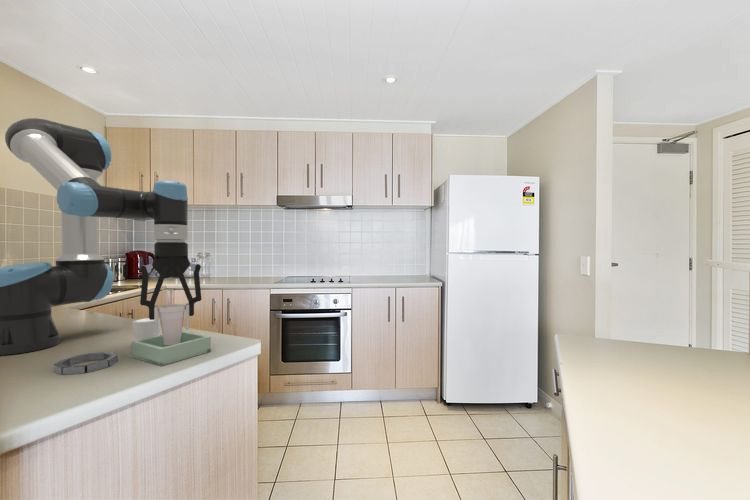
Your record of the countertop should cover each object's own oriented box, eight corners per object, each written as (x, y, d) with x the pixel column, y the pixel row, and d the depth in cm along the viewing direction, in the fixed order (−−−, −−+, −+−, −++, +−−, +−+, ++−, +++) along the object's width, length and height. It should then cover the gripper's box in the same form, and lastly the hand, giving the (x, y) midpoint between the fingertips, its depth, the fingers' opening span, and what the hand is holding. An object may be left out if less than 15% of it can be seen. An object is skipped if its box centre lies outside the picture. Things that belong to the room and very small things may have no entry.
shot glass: (150, 347, 97) (150, 322, 97) (126, 347, 98) (126, 322, 97) (166, 340, 104) (165, 317, 104) (143, 340, 104) (143, 317, 104)
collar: (47, 368, 81) (47, 362, 81) (102, 355, 90) (102, 349, 90) (67, 377, 75) (67, 370, 75) (124, 362, 85) (124, 356, 85)
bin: (131, 357, 89) (131, 341, 89) (181, 344, 100) (181, 330, 100) (160, 366, 82) (160, 349, 82) (210, 351, 94) (210, 336, 94)
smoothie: (179, 338, 96) (178, 287, 95) (190, 342, 92) (190, 289, 92) (153, 344, 90) (153, 289, 90) (164, 348, 87) (164, 291, 86)
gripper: (124, 241, 83) (125, 338, 83) (213, 241, 92) (214, 328, 93) (127, 241, 89) (128, 331, 89) (210, 241, 99) (211, 323, 99)
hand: (172, 330), depth 91 cm, fingers closed on smoothie, 6 cm apart
